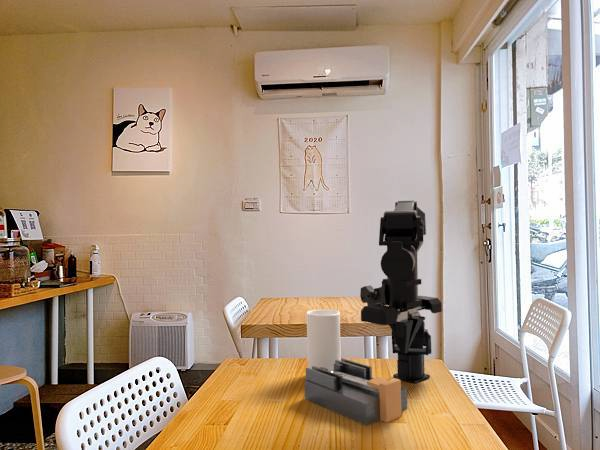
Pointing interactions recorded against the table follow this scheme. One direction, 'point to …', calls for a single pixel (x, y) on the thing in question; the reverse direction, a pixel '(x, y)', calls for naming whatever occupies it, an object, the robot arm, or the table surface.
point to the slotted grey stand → (346, 391)
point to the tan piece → (388, 397)
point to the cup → (323, 338)
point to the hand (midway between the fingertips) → (403, 352)
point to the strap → (356, 381)
